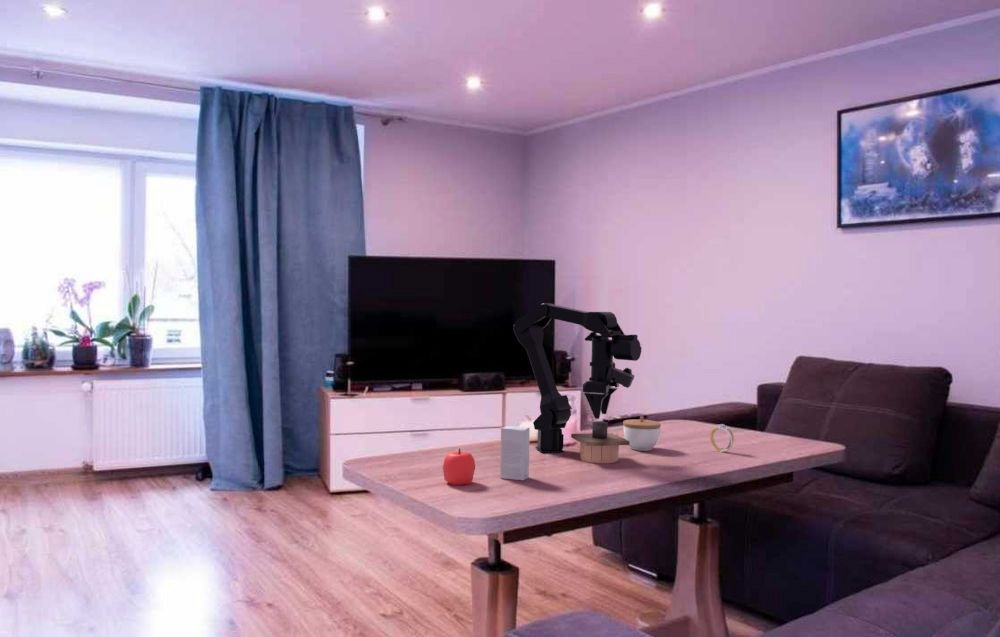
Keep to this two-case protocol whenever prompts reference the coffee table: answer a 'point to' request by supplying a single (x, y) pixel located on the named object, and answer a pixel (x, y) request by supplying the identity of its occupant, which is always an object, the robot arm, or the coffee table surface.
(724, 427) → the bracelet
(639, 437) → the lidded jar
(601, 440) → the walnut lid
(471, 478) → the apple
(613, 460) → the tan short open cylinder
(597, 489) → the coffee table surface
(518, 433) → the skincare box
